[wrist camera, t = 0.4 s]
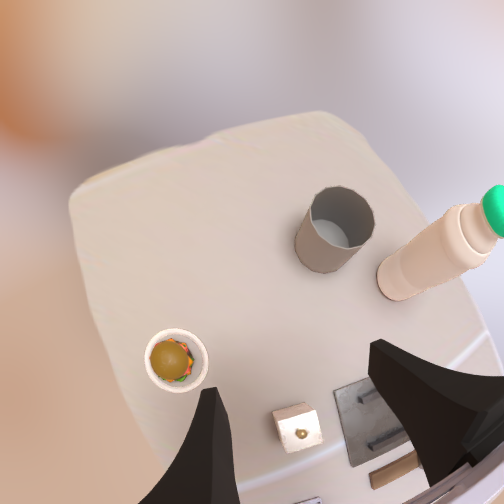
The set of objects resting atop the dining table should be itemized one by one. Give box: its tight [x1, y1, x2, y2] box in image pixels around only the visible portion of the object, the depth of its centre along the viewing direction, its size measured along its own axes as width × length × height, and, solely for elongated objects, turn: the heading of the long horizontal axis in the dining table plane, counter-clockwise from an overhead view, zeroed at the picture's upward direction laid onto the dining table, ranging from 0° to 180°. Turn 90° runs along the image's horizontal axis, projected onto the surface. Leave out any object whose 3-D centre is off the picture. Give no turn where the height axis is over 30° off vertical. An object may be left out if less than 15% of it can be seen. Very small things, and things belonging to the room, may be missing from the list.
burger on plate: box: [144, 328, 209, 393], centre depth 34 cm, size 12×12×6 cm
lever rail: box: [369, 450, 419, 490], centre depth 30 cm, size 3×13×1 cm, turn 104°
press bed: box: [334, 377, 410, 467], centre depth 32 cm, size 13×13×2 cm
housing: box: [272, 402, 323, 454], centre depth 30 cm, size 4×4×7 cm
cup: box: [295, 185, 376, 274], centre depth 37 cm, size 8×8×10 cm
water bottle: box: [377, 185, 504, 301], centre depth 29 cm, size 7×7×25 cm
